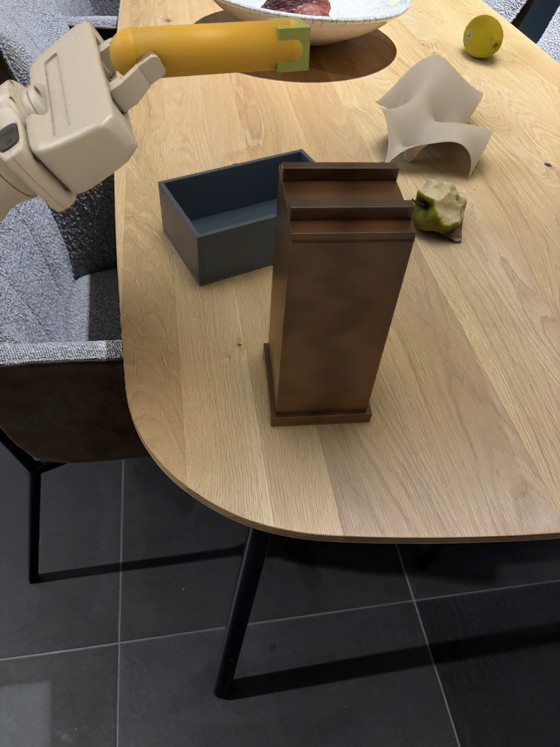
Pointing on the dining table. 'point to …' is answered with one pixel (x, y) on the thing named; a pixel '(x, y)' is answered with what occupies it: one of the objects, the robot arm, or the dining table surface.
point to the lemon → (483, 36)
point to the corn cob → (217, 47)
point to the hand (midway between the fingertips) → (155, 47)
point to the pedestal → (333, 287)
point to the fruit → (439, 209)
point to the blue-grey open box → (225, 216)
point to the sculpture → (432, 111)
